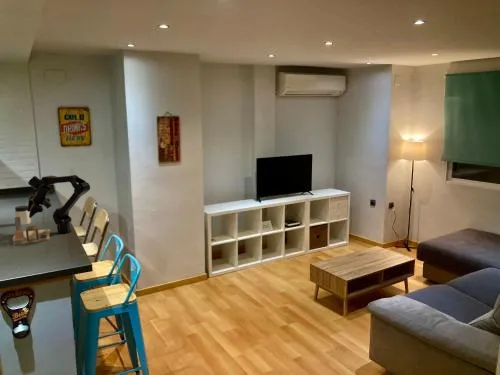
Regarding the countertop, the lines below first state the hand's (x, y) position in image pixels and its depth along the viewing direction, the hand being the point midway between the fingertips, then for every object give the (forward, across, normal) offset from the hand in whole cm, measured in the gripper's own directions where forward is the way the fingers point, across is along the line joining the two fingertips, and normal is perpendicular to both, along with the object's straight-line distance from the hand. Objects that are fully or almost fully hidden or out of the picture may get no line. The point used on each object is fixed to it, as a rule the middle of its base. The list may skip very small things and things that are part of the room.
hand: (29, 214), depth 261 cm
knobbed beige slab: (+10, -12, +2) cm, 16 cm away
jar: (+18, +26, -8) cm, 33 cm away
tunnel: (+5, -21, -3) cm, 22 cm away
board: (+8, -14, -4) cm, 17 cm away
